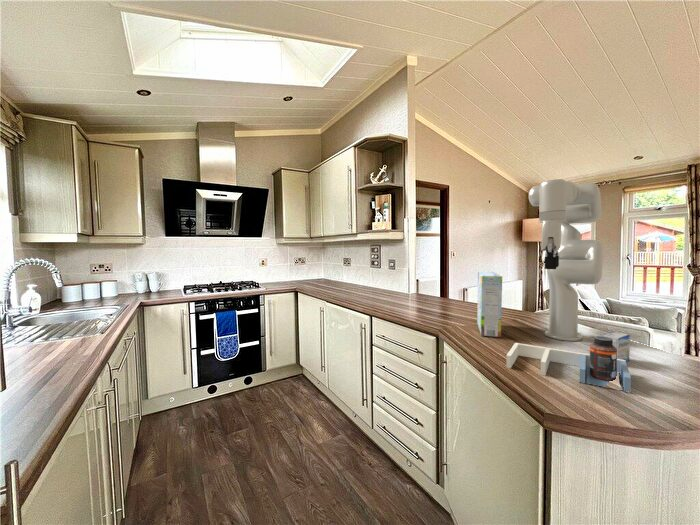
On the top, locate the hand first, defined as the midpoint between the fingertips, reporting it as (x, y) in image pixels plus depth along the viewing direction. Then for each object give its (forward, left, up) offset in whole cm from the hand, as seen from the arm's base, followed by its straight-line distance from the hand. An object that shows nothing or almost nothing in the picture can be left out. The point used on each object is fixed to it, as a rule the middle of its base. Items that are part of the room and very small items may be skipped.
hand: (551, 267), depth 103 cm
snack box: (-20, -25, -31) cm, 44 cm away
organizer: (+13, +4, -30) cm, 33 cm away
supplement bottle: (+13, +13, -30) cm, 35 cm away
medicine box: (-5, +17, -31) cm, 35 cm away
